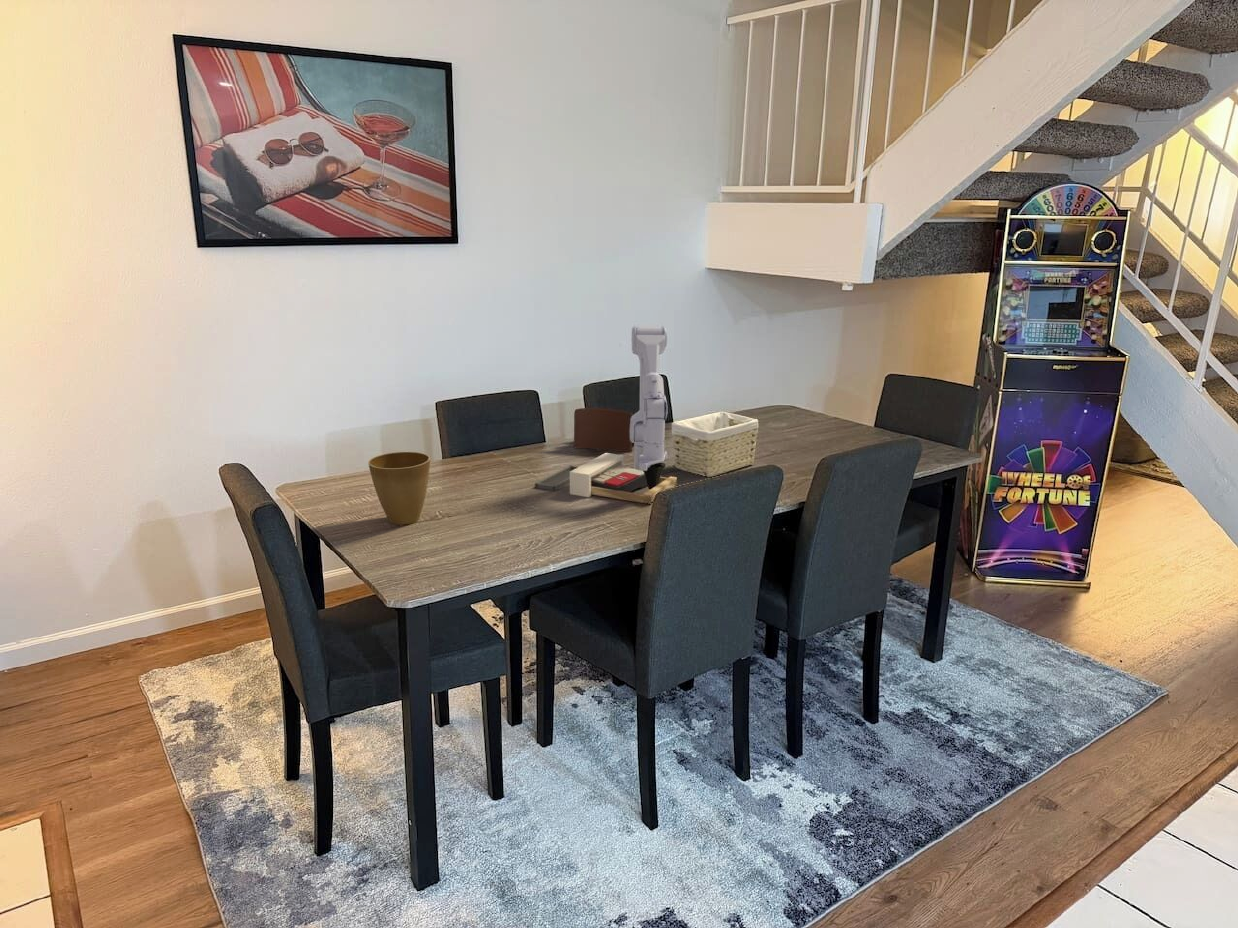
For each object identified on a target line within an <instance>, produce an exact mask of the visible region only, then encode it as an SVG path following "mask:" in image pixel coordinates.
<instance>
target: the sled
mask: <svg viewBox="0 0 1238 928" xmlns="http://www.w3.org/2000/svg"><path fill="white" fill-rule="evenodd" d="M677 481H678V479H677V477H676V476H669V477H665V476H660V480H659V484H658V485H657V486H655V487H654V488H652V489H648V490H647V491H646V492H645V493H644V494H642V493H635V492H632V491H631V492H625V491H617V490H612V489H606V488H600V487H593V486H591V496H592V495H593V496H600V497H606V498H611V499H617V500H624V501H629V502H636V503H642V504H647V503H648V504H647V505H651V504H652V503H651V502H652V501H653V498H654V497H655V495H656V494H657V493H658V492H659V491H662V490H664V489H667V488H670V487H674V486H675V487H677V486H676V485H677V484H678V482H677ZM675 487H674V488H675Z"/></svg>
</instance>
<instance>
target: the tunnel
mask: <svg viewBox="0 0 1238 928" xmlns="http://www.w3.org/2000/svg"><path fill="white" fill-rule="evenodd" d="M624 465H625V455H623V454H616V453H609V452H605V453H603V454H601V455H599V456H597V457H595V458H593V459H591V460H589V461H588V462H586V463H583V464H582V465H580V466H578V465H577V466H576V465H572V464H571V465H569V466H567V467H565V468H563V469H561V470H559V471H556V472H555V473H552V474H551V475H549V476H547V477H545V478H542V480H539V481H537V482H535V483H534V488H535V489H543V490H547V491H549V490H550V491H555V492H556V491H558V490H559V489H561V488H562V487H565V486H567V485H568V484H569V494H570V495H571V496H573V495H574V496H577V497H585V498H590V497H591V496H592V494H591V478H592V477H594V476H596V475H598V474H600V473H602V471H603V472H605V471H607V470H609V469H613V468H615V467H617V466H623V467H625V466H624Z"/></svg>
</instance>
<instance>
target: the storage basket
mask: <svg viewBox="0 0 1238 928" xmlns="http://www.w3.org/2000/svg"><path fill="white" fill-rule="evenodd" d="M730 423H733V424H735V425H731V426H730ZM758 433H759V420H758V419H757V418H751V417H748V416H744V415H740V414H735V413H733V412H726V411H719V412H714V413H710V414H703V415H701V416H700V415H699V416H697V417H691V418H686V419H682V420H677V421H673V422H672V423H671V434H672V440H673V449H674V450H673V452H674V453H673V454H674V462H675V463H674V465H675V468H676V469H679V470H681V471H685V472H689V473H690V472H691V474H694V473H695V474H694V475H697V474H699V475H698V476H700V475H703V476H702V477H704V476H707V478H711V477H715V476H718V475H722V474H725V473H727V472H731V471H735V470H737V469H740V468H743V467H748V466H749V465H753V464H754V463H755V462H754V461H755V453H756V446H757V437H758Z"/></svg>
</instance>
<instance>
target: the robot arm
mask: <svg viewBox="0 0 1238 928" xmlns="http://www.w3.org/2000/svg"><path fill="white" fill-rule="evenodd" d="M667 343H668V329H667V328H666V326H664V325H663V326H636V325H634V326H633V327H632V328H631V352H632V354H634V355H637V357H638V359H639V410H638V411H637V412H635V413H634V414H632V415H633V416H632V417H631V419H630V441H631V442H632V443H634V450H633V469H636V470H641V471H643V472H644V474H645V477H646V480H647V487H648V488H647V489H648V490H651V489H652V488H654V487H655V486H657V485H658V484H659V480H660V477H662V474H663V472H664V470H665V469H666V463H664V461H665V460H666V459H667V458H668V451H666V450H665V429H666V428H665V425H666V420H667V417H668V401H667V397H666V395H665V387H664V386H665V385H664V378H663V377H662V376H661V374H659V371H660V366H659V365H660V355H662V354H663V353H664V351H665V350H666V347H667Z"/></svg>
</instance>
